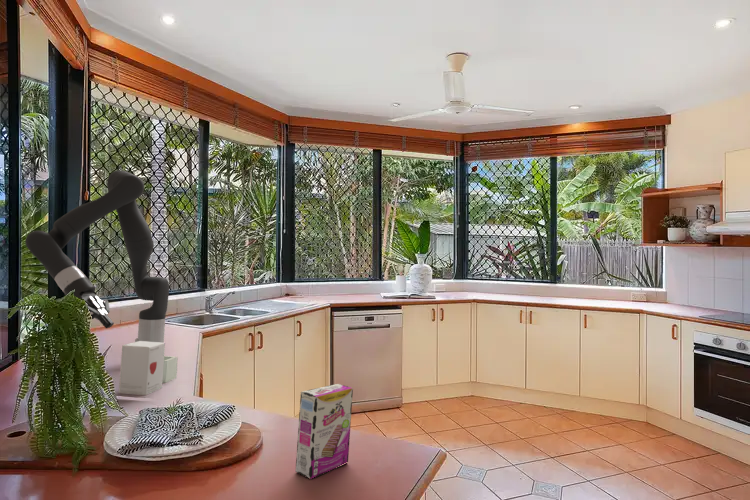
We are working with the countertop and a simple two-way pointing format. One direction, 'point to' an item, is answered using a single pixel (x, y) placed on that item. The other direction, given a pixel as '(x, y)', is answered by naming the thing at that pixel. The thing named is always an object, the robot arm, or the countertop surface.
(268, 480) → the countertop surface
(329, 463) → the candy bar box
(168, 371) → the stoneware open box
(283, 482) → the countertop surface
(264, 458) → the countertop surface
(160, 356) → the supplement box
